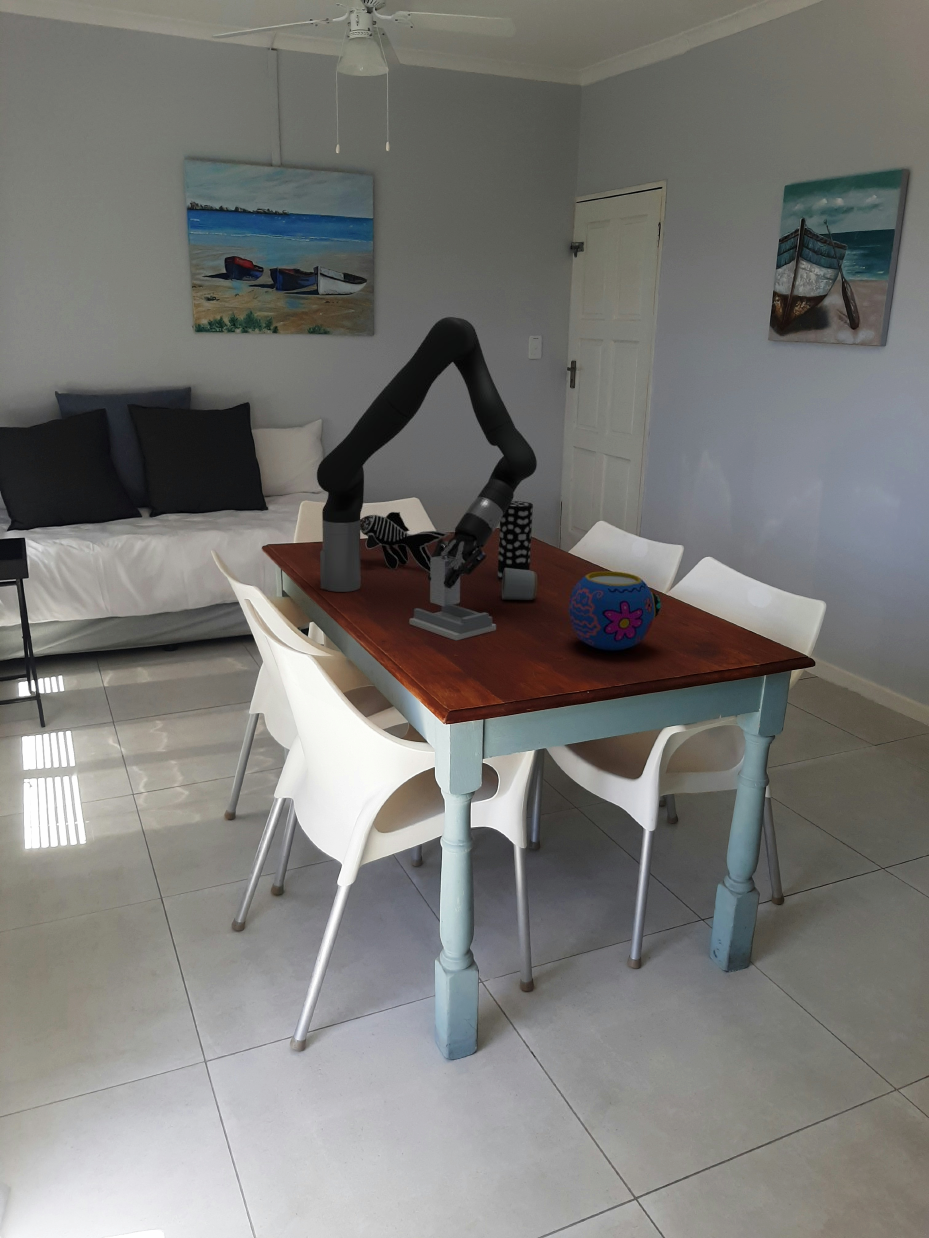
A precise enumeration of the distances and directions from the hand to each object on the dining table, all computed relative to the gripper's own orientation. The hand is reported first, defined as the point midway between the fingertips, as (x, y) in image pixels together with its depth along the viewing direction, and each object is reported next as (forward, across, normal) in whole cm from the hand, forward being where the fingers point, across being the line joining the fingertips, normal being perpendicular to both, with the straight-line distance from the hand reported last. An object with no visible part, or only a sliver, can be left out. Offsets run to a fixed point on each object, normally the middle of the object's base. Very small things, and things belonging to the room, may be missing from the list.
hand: (438, 583), depth 211 cm
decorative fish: (-13, -46, +27) cm, 55 cm away
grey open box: (+6, +3, +8) cm, 10 cm away
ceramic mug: (-15, -6, +29) cm, 33 cm away
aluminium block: (+2, 0, +5) cm, 5 cm away
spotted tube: (-24, -19, +38) cm, 48 cm away
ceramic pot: (-5, +33, +20) cm, 39 cm away
